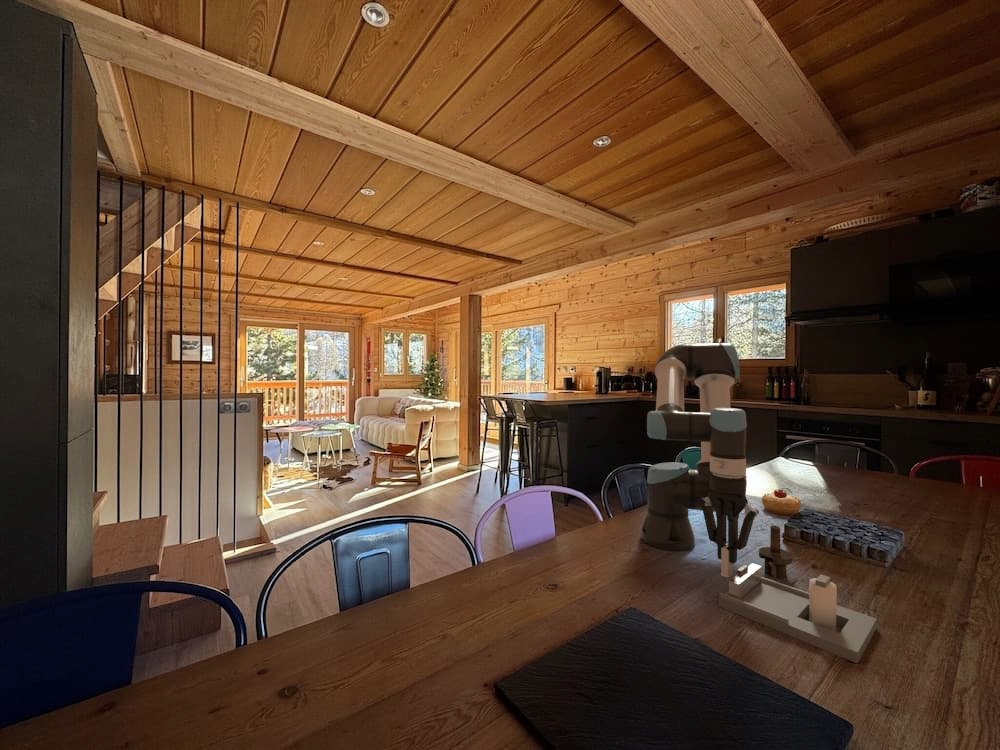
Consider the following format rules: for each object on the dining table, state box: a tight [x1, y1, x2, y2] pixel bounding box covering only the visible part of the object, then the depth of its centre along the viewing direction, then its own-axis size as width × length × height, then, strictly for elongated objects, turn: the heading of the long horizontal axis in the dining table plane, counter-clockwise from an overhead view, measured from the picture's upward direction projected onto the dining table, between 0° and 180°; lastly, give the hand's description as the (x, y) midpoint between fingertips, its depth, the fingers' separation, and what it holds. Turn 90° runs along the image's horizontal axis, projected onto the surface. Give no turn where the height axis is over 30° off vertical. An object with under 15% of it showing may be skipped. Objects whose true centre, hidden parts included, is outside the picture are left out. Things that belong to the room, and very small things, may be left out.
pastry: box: [761, 487, 802, 516], centre depth 157 cm, size 12×12×9 cm
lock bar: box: [728, 563, 763, 599], centre depth 98 cm, size 2×13×4 cm, turn 130°
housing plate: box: [718, 576, 878, 664], centre depth 91 cm, size 24×16×3 cm, turn 40°
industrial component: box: [758, 524, 793, 578], centre depth 110 cm, size 9×7×12 cm
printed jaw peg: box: [808, 574, 838, 632], centre depth 87 cm, size 4×4×10 cm
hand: (727, 574), depth 101 cm, fingers closed
